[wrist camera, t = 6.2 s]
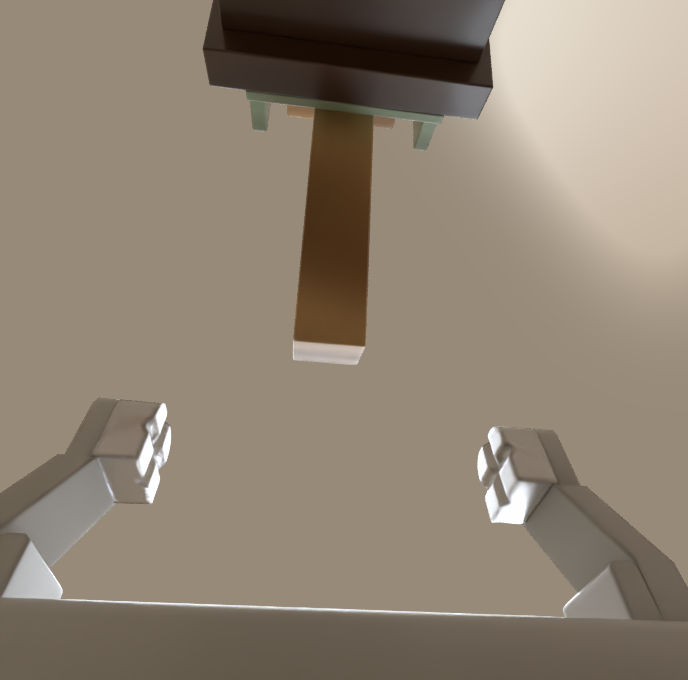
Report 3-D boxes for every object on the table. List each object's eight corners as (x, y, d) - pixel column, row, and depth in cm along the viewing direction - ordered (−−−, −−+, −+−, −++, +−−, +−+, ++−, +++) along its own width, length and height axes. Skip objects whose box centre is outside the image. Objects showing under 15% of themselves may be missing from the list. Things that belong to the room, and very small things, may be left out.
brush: (250, 327, 14) (258, 361, 17) (410, 341, 15) (388, 372, 18) (304, -93, 21) (302, -14, 25) (410, -76, 22) (394, 0, 25)
